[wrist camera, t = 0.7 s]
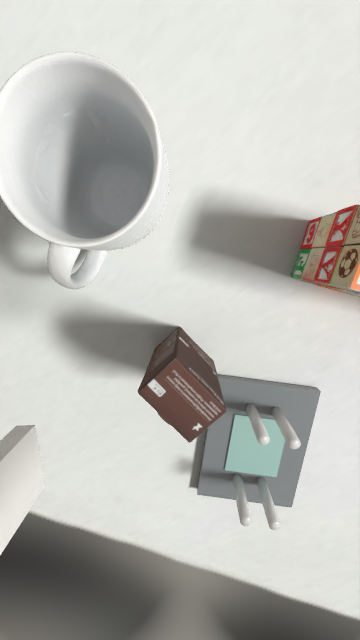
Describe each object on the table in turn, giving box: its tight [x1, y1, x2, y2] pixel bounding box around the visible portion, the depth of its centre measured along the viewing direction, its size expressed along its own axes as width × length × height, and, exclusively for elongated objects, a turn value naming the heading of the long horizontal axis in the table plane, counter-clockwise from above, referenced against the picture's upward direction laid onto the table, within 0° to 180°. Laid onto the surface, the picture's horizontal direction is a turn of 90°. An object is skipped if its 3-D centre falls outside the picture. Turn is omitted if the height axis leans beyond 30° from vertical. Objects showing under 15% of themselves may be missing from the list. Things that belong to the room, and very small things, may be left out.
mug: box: [0, 52, 169, 289], centre depth 24 cm, size 15×11×13 cm
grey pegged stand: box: [197, 374, 321, 530], centre depth 32 cm, size 12×16×7 cm
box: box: [138, 327, 227, 443], centre depth 27 cm, size 6×4×12 cm
